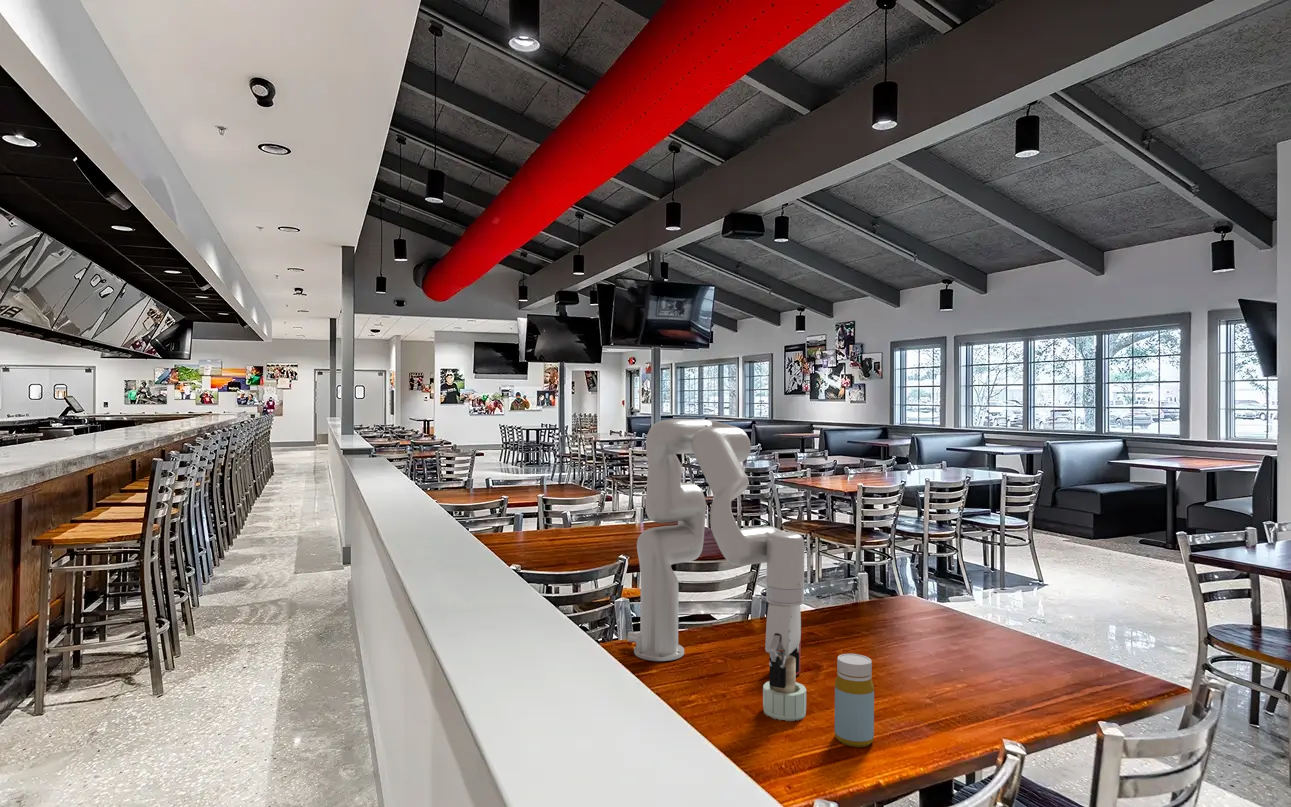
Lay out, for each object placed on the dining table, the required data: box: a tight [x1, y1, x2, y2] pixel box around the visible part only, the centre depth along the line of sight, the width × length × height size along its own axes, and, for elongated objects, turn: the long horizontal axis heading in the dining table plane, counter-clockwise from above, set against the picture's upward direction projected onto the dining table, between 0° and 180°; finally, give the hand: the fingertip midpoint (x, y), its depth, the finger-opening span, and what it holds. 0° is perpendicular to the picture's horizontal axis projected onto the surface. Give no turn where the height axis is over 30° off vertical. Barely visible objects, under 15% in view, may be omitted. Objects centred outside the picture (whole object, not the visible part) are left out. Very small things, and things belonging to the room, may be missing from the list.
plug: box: [773, 655, 797, 693], centre depth 148 cm, size 4×4×10 cm
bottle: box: [834, 653, 875, 748], centre depth 136 cm, size 7×7×15 cm
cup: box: [762, 680, 807, 722], centre depth 148 cm, size 8×8×5 cm
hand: (784, 678), depth 148 cm, fingers open, 9 cm apart
